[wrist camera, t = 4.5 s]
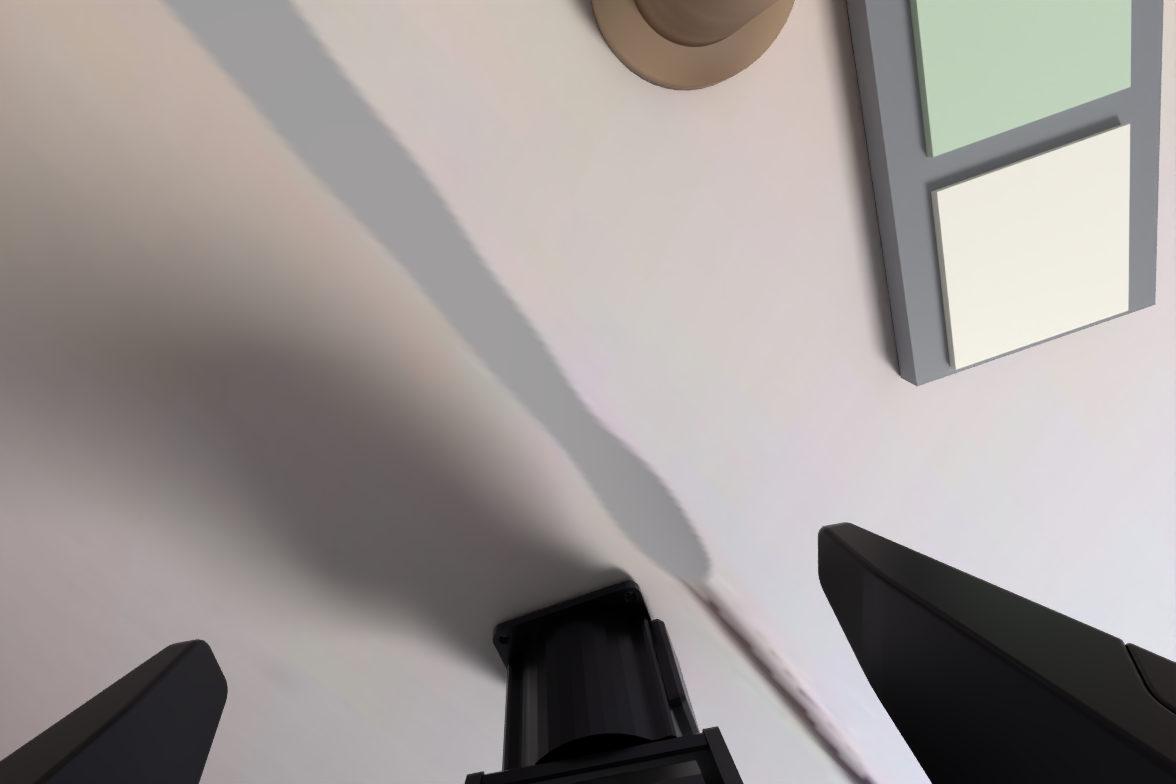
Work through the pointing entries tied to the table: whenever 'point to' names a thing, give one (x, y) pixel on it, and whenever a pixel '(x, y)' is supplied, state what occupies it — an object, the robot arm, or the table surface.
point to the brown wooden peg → (689, 37)
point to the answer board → (1010, 168)
